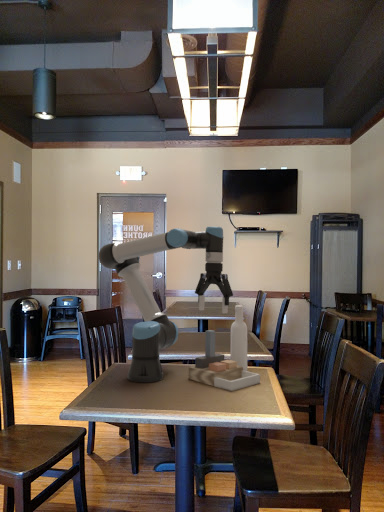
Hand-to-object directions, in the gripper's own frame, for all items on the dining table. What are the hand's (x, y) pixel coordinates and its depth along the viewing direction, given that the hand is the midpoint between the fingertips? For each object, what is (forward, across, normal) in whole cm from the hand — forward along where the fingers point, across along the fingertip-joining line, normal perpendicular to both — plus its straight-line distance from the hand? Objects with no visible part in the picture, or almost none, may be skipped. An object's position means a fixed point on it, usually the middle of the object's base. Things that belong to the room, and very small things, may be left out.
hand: (212, 311), depth 180 cm
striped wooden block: (+28, +2, +1) cm, 28 cm away
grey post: (+23, -2, +1) cm, 23 cm away
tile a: (+23, +6, -3) cm, 24 cm away
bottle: (+28, 0, +19) cm, 34 cm away
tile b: (+23, +6, +4) cm, 24 cm away
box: (+28, +14, +1) cm, 31 cm away
